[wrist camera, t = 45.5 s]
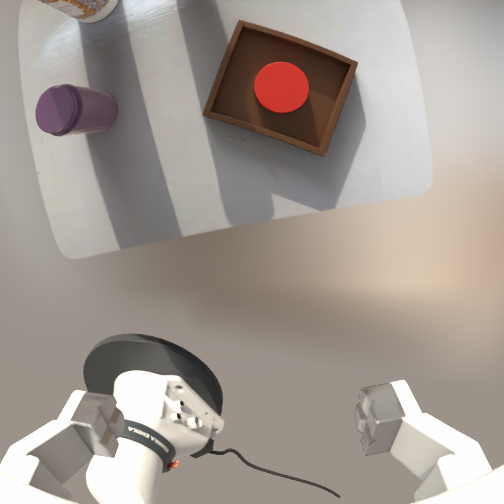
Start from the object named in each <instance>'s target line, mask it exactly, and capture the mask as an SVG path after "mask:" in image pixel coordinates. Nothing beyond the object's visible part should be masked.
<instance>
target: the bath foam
mask: <svg viewBox="0 0 504 504" xmlns="http://www.w3.org/2000/svg"><path fill="white" fill-rule="evenodd" d="M39 1H41V2H43V3H45V4H47V5H49V6H51V7H54V8H56V9H58V10H60V11H62V12H64V13H66V14H68V15H70V16H72V17H73V18H76V19H78V20H80V21H82V22H85V23H92V22H96V21H99V20H101V19H103V18H104V17H106V16H107V15H108V14H109V13H110V12H111V11H112V10H113V9H114V8H115V6H116V4H117V2H118V0H39Z"/></svg>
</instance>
